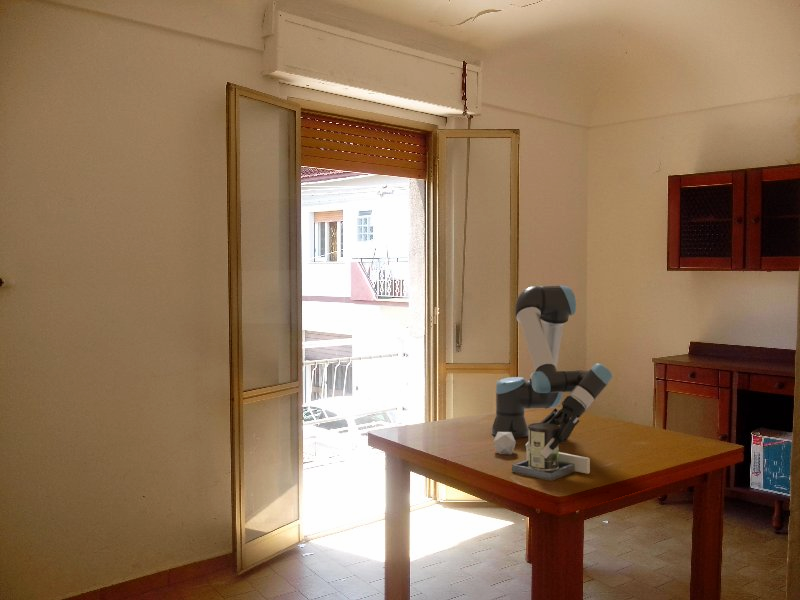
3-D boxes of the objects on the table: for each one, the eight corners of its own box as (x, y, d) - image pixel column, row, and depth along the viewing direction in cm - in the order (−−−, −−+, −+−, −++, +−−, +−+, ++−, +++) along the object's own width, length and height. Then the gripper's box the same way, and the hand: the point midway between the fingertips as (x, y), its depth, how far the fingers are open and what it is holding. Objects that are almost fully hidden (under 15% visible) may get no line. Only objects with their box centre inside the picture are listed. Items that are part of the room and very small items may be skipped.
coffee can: (558, 463, 244) (558, 423, 243) (559, 472, 234) (559, 429, 233) (528, 462, 246) (528, 422, 245) (527, 470, 236) (527, 428, 235)
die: (507, 459, 258) (521, 437, 260) (487, 446, 261) (501, 424, 263) (507, 461, 266) (521, 440, 268) (487, 448, 269) (501, 427, 270)
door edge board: (526, 460, 254) (526, 447, 253) (528, 460, 255) (528, 446, 255) (587, 473, 237) (587, 458, 237) (589, 472, 238) (589, 458, 238)
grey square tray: (512, 472, 239) (512, 464, 239) (536, 463, 250) (536, 456, 250) (550, 481, 229) (551, 473, 229) (574, 471, 240) (574, 464, 240)
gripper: (602, 416, 232) (559, 467, 229) (567, 403, 254) (527, 450, 250) (588, 400, 231) (544, 452, 227) (553, 389, 252) (513, 436, 248)
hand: (535, 451), depth 239 cm, fingers closed on coffee can, 10 cm apart
